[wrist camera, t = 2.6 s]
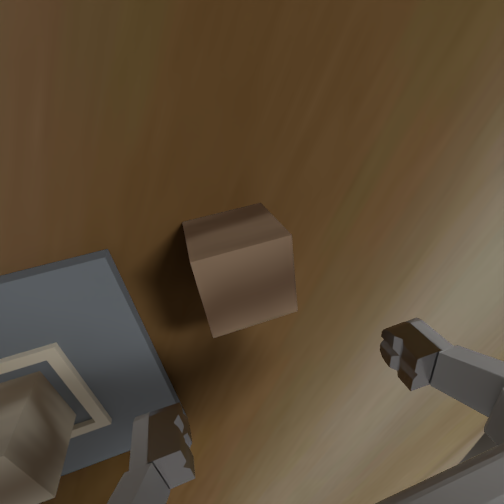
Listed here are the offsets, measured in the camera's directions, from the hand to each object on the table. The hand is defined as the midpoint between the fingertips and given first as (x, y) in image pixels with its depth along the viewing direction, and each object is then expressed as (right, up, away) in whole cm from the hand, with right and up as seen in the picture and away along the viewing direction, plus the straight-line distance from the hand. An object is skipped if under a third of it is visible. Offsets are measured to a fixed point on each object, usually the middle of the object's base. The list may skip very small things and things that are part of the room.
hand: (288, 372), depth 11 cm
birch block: (-17, -6, +8) cm, 19 cm away
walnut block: (-3, +5, +8) cm, 10 cm away
